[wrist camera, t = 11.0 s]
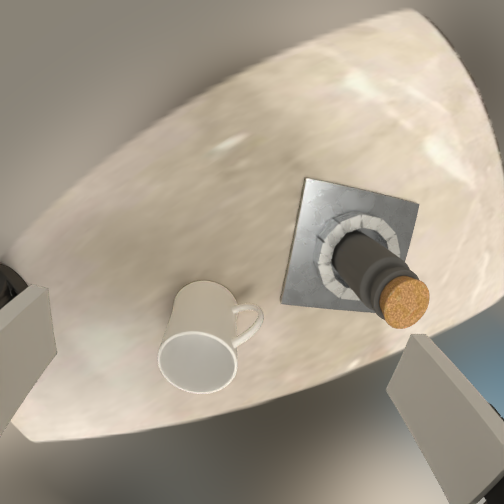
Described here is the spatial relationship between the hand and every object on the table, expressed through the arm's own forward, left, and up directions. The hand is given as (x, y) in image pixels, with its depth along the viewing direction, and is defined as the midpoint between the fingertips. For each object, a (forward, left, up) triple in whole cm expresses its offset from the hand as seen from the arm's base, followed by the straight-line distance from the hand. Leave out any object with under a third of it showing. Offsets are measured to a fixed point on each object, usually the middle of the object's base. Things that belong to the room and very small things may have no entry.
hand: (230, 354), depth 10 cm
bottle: (+15, -3, -28) cm, 32 cm away
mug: (0, -13, -29) cm, 32 cm away
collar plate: (+16, -3, -29) cm, 33 cm away
